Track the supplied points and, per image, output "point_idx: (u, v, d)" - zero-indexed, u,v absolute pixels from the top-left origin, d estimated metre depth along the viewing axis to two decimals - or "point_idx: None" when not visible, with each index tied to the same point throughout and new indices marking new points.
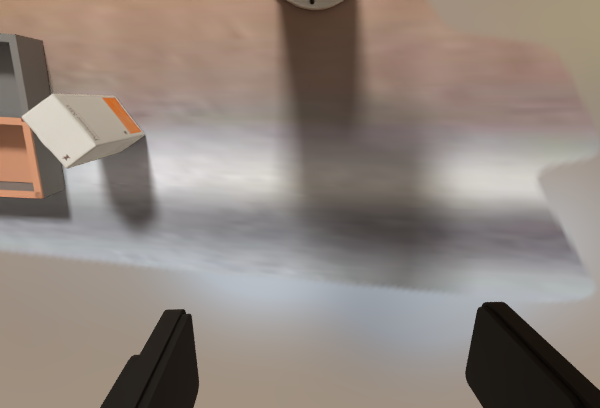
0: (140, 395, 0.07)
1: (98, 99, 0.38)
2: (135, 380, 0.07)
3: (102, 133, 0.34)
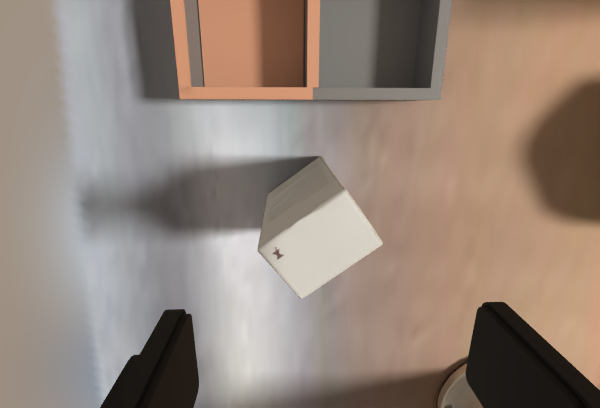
0: (140, 395, 0.07)
1: None
2: (135, 380, 0.07)
3: None
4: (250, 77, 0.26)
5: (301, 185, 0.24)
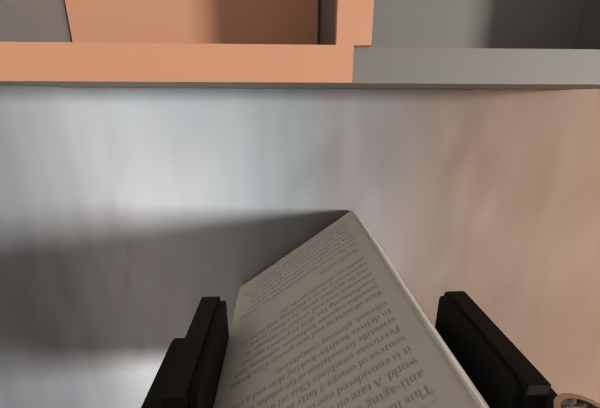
0: (193, 370, 0.08)
1: None
2: (186, 357, 0.08)
3: None
4: (187, 31, 0.11)
5: (318, 324, 0.09)
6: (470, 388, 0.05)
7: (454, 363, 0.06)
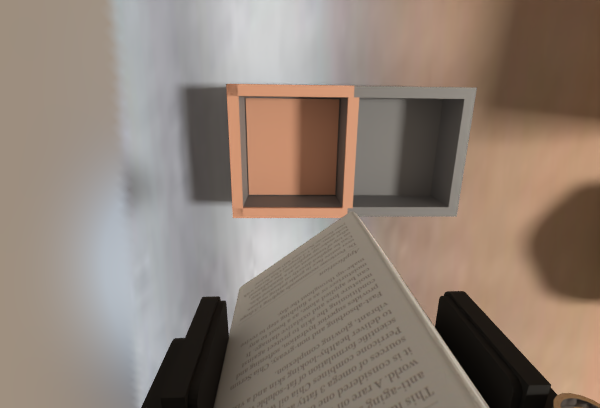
0: (193, 370, 0.08)
1: None
2: (186, 357, 0.08)
3: None
4: (289, 186, 0.30)
5: (318, 325, 0.09)
6: (471, 390, 0.05)
7: (455, 364, 0.06)
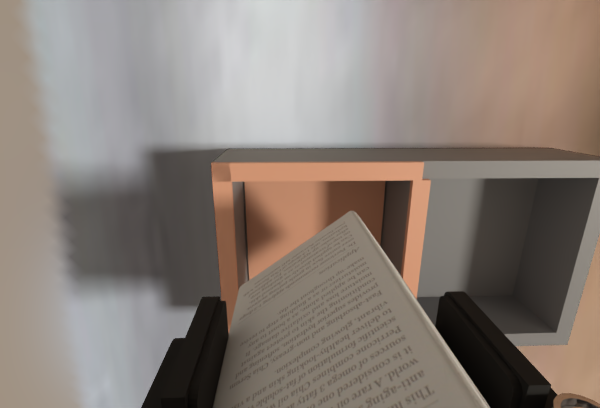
0: (193, 370, 0.08)
1: None
2: (186, 357, 0.08)
3: None
4: None
5: (318, 324, 0.09)
6: (471, 388, 0.05)
7: (455, 363, 0.06)
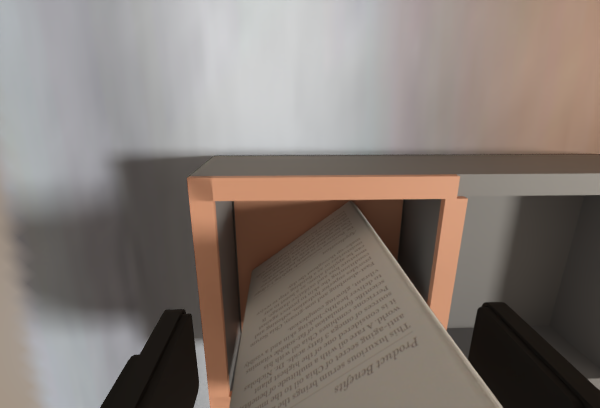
0: (140, 396, 0.07)
1: None
2: (135, 380, 0.07)
3: None
4: None
5: (322, 291, 0.10)
6: (437, 322, 0.07)
7: (427, 307, 0.07)
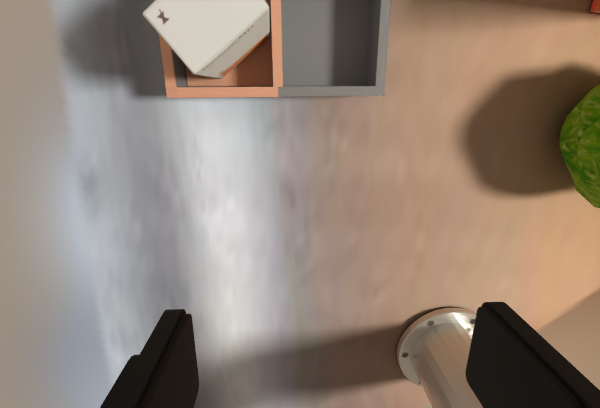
0: (140, 396, 0.07)
1: (264, 34, 0.25)
2: (135, 380, 0.07)
3: (215, 65, 0.22)
4: (226, 76, 0.31)
5: None
6: None
7: None
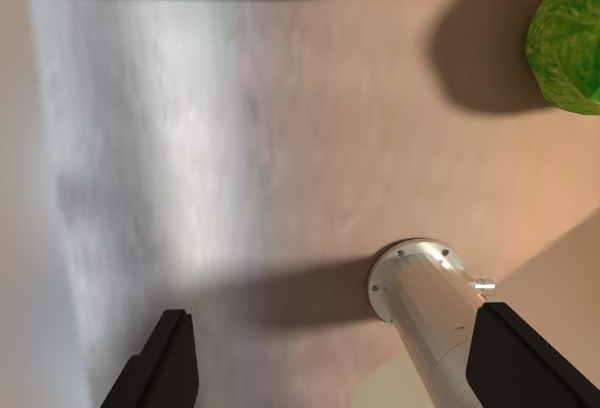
0: (140, 395, 0.07)
1: None
2: (135, 380, 0.07)
3: None
4: None
5: None
6: None
7: None
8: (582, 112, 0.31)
